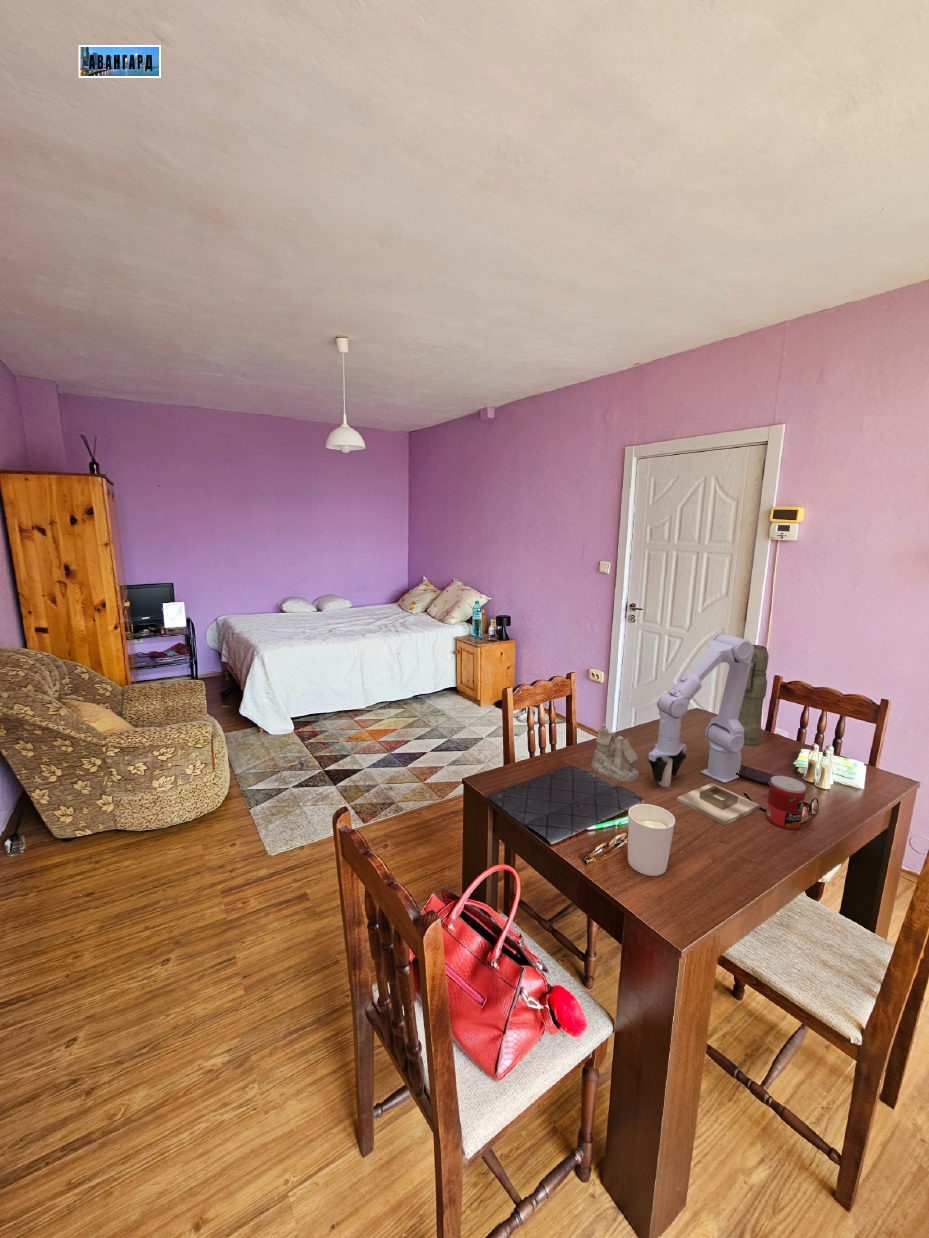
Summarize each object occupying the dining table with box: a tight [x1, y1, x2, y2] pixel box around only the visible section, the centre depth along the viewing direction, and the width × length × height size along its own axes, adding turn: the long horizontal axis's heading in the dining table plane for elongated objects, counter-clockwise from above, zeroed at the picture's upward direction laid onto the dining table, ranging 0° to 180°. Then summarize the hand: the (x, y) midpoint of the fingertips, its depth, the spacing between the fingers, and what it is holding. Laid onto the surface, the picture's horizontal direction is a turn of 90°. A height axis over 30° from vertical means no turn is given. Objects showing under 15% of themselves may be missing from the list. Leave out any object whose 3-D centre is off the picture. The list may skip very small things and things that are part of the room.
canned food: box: [765, 775, 807, 831], centre depth 134 cm, size 8×8×11 cm
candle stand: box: [676, 782, 760, 827], centre depth 142 cm, size 16×14×3 cm
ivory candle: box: [658, 756, 673, 788], centre depth 153 cm, size 3×3×8 cm
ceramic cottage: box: [590, 723, 640, 782], centre depth 163 cm, size 16×16×15 cm
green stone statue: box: [738, 644, 770, 747], centre depth 183 cm, size 9×12×35 cm
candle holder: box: [627, 803, 676, 877], centre depth 116 cm, size 10×10×12 cm
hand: (664, 777), depth 153 cm, fingers open, 6 cm apart
